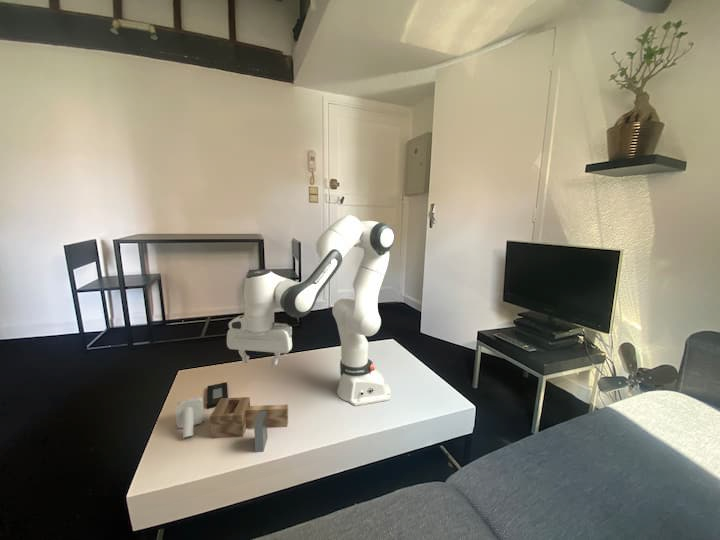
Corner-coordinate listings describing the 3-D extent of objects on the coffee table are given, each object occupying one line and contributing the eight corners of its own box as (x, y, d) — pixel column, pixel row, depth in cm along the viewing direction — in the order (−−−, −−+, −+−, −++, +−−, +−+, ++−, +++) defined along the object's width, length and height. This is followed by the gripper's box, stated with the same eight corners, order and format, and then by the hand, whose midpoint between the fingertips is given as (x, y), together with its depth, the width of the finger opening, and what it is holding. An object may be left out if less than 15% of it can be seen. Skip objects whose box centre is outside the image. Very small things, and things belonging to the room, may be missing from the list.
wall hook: (173, 443, 95) (171, 412, 95) (178, 430, 104) (177, 401, 105) (201, 436, 98) (200, 406, 99) (204, 424, 108) (202, 396, 108)
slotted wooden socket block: (289, 415, 110) (289, 395, 109) (285, 434, 101) (285, 413, 99) (222, 418, 108) (220, 398, 107) (211, 438, 98) (209, 416, 97)
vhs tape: (227, 386, 129) (227, 382, 129) (228, 405, 116) (228, 400, 116) (207, 390, 126) (207, 385, 126) (207, 410, 113) (206, 405, 113)
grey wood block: (267, 437, 99) (266, 410, 97) (263, 451, 93) (262, 423, 92) (259, 438, 99) (258, 411, 97) (255, 452, 93) (253, 423, 91)
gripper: (295, 320, 96) (294, 361, 98) (233, 316, 97) (234, 356, 99) (288, 327, 89) (288, 370, 92) (223, 322, 91) (224, 365, 93)
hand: (260, 363), depth 96 cm, fingers open, 8 cm apart
